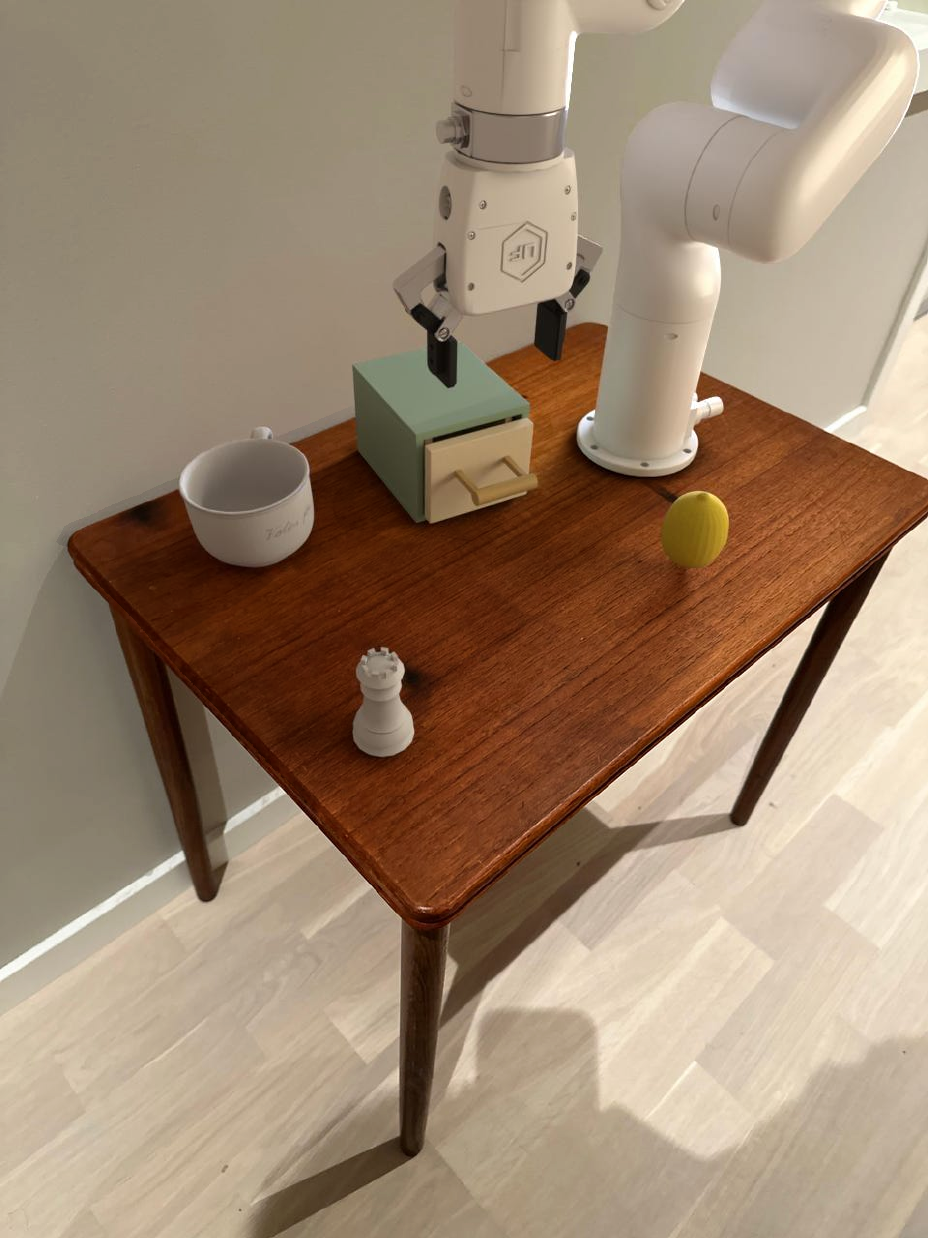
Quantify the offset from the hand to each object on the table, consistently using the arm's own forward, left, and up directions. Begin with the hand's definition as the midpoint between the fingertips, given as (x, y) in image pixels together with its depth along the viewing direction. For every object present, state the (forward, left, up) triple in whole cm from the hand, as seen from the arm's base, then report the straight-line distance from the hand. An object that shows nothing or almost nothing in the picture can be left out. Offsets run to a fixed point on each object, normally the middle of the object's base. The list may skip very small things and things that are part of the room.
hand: (496, 366), depth 70 cm
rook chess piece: (+19, +18, -16) cm, 31 cm away
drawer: (0, -5, -15) cm, 16 cm away
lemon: (-13, +13, -16) cm, 25 cm away
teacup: (+19, -8, -16) cm, 26 cm away
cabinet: (0, -10, -16) cm, 19 cm away
